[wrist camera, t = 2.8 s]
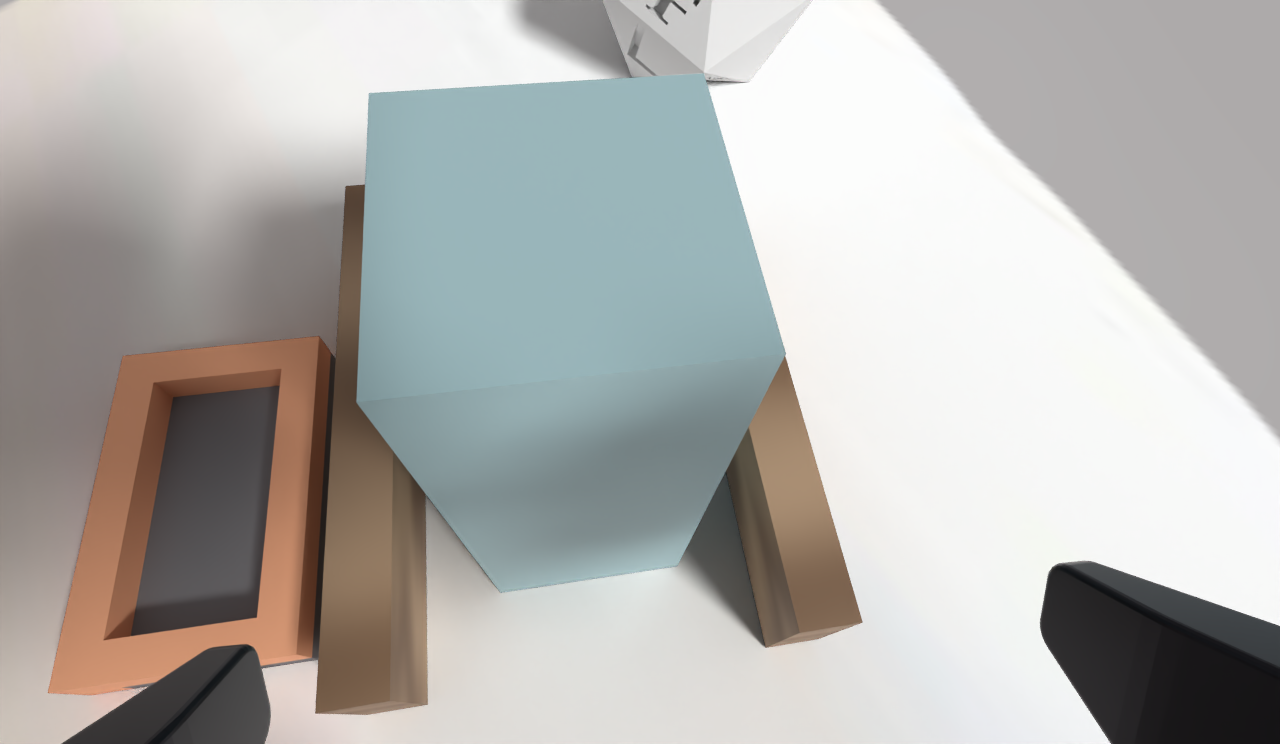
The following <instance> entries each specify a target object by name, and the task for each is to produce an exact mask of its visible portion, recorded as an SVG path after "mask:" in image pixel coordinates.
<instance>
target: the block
mask: <svg viewBox="0 0 1280 744" xmlns="http://www.w3.org/2000/svg"><path fill="white" fill-rule="evenodd" d="M785 355H786V353H785V349H784V346H783V342H782V339H781V336H780V332H779V329H778V325H777V322H776V318H775V315H774V312H773V308H772V305H771V301H770V298H769V294H768V291H767V288H766V284H765V281H764V277H763V274H762V271H761V267H760V264H759V260H758V257H757V253H756V250H755V247H754V243H753V240H752V236H751V233H750V229H749V226H748V223H747V219H746V216H745V212H744V209H743V205H742V202H741V199H740V195H739V192H738V188H737V185H736V182H735V178H734V175H733V171H732V168H731V164H730V161H729V158H728V154H727V151H726V147H725V144H724V140H723V137H722V134H721V130H720V127H719V123H718V120H717V116H716V113H715V110H714V106H713V103H712V99H711V96H710V93H709V89H708V86H707V82H706V79H705V75H704V73H701V74H684V75H667V76H651V77H634V78H617V79H600V80H583V81H566V82H549V83H533V84H516V85H499V86H482V87H465V88H449V89H432V90H415V91H398V92H381V93H369V103H368V128H367V153H366V177H365V202H364V227H363V252H362V277H361V301H360V326H359V351H358V376H357V401H356V403H357V404H358V405H359V407H360V408H361V409H362V411H363V412H364V413H365V414H366V416H367V417H368V418H369V420H370V421H371V422H372V424H373V425H374V426H375V428H376V429H377V430H378V432H379V433H380V434H381V436H382V437H383V438H384V440H385V441H386V442H387V444H388V445H389V446H390V447H391V449H392V450H393V451H394V453H395V454H396V455H397V457H398V458H399V459H400V461H401V462H402V463H403V465H404V466H405V467H406V469H407V470H408V471H409V473H410V474H411V475H412V476H413V478H414V479H415V480H416V482H417V483H418V484H419V486H420V487H421V488H422V490H423V491H424V492H425V494H426V495H427V496H428V498H429V499H430V500H431V502H432V503H433V504H434V506H435V507H436V508H437V509H438V511H439V512H440V513H441V515H442V516H443V517H444V519H445V520H446V521H447V523H448V524H449V525H450V527H451V528H452V529H453V531H454V532H455V533H456V535H457V536H458V537H459V538H460V540H461V541H462V542H463V544H464V545H465V546H466V548H467V549H468V550H469V552H470V553H471V554H472V556H473V557H474V558H475V560H476V561H477V562H478V564H479V565H480V566H481V568H482V569H483V570H484V571H485V573H486V574H487V575H488V577H489V578H490V579H491V581H492V582H493V583H494V585H495V586H496V587H497V589H498V590H499V591H500V593H502V592H509V591H515V590H522V589H529V588H535V587H542V586H549V585H555V584H562V583H569V582H575V581H582V580H589V579H595V578H602V577H609V576H615V575H622V574H629V573H635V572H642V571H649V570H655V569H662V568H669V567H675V566H678V564H679V562H680V560H681V558H682V556H683V554H684V552H685V550H686V548H687V546H688V544H689V542H690V540H691V538H692V536H693V534H694V532H695V530H696V528H697V526H698V525H699V523H700V521H701V519H702V517H703V515H704V513H705V511H706V509H707V507H708V505H709V503H710V501H711V499H712V497H713V495H714V493H715V491H716V489H717V487H718V485H719V483H720V482H721V480H722V478H723V476H724V474H725V472H726V470H727V468H728V466H729V464H730V462H731V460H732V458H733V456H734V454H735V452H736V450H737V448H738V446H739V444H740V442H741V441H742V439H743V437H744V435H745V433H746V431H747V429H748V427H749V425H750V423H751V421H752V419H753V417H754V415H755V413H756V411H757V409H758V407H759V405H760V403H761V401H762V400H763V398H764V396H765V394H766V392H767V390H768V388H769V386H770V384H771V382H772V380H773V378H774V376H775V374H776V372H777V370H778V368H779V366H780V364H781V362H782V360H783V358H784V357H785Z"/></svg>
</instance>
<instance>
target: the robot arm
mask: <svg viewBox="0 0 1280 744" xmlns="http://www.w3.org/2000/svg"><path fill="white" fill-rule="evenodd" d="M1040 628H1041V633H1042V637H1043V639H1044V641H1045V643H1046V645H1047V647H1048V649H1049V650H1050V652H1051V653H1052V655H1053V656H1054V658H1055V659H1056V661H1057V662H1058V664H1059V665H1060V667H1061V668H1062V670H1063V671H1064V673H1065V674H1066V676H1067V677H1068V679H1069V681H1070V682H1071V684H1072V685H1073V687H1074V688H1075V690H1076V691H1077V693H1078V694H1079V696H1080V697H1081V699H1082V700H1083V702H1084V703H1085V705H1086V706H1087V708H1088V709H1089V711H1090V712H1091V714H1092V716H1093V717H1094V719H1095V720H1096V722H1097V723H1098V725H1099V726H1100V728H1101V729H1102V731H1103V732H1104V734H1105V735H1106V737H1107V738H1108V740H1109V741H1110V743H1111V744H1280V626H1278V625H1275V624H1272V623H1270V622H1267V621H1264V620H1261V619H1258V618H1255V617H1252V616H1249V615H1246V614H1243V613H1241V612H1238V611H1235V610H1232V609H1229V608H1226V607H1223V606H1220V605H1217V604H1214V603H1212V602H1209V601H1206V600H1203V599H1200V598H1197V597H1194V596H1191V595H1188V594H1185V593H1182V592H1180V591H1177V590H1174V589H1171V588H1168V587H1165V586H1162V585H1159V584H1156V583H1153V582H1151V581H1148V580H1145V579H1142V578H1139V577H1136V576H1133V575H1130V574H1127V573H1124V572H1121V571H1119V570H1116V569H1113V568H1110V567H1107V566H1104V565H1101V564H1098V563H1095V562H1092V561H1077V562H1067V563H1059V564H1057V565H1055V566H1053V567H1052V569H1051V570H1050V571H1049V574H1048V578H1047V584H1046V590H1045V595H1044V601H1043V607H1042V613H1041V618H1040ZM270 717H271V712H270V703H269V699H268V695H267V690H266V686H265V682H264V678H263V673H262V669H261V665H260V660H259V657H258V654H257V651H256V650H255V648H254V647H252V646H250V645H248V644H239V645H229V646H218V647H212V648H209V649H206V650H205V651H203V652H201V653H200V654H198V655H197V656H195V657H194V658H192V659H191V660H189V661H188V662H186V663H184V664H183V665H181V666H180V667H178V668H177V669H175V670H174V671H172V672H171V673H169V674H168V675H166V676H165V677H163V678H161V679H160V680H158V681H157V682H155V683H154V684H152V685H151V686H149V687H148V688H146V689H145V690H143V691H142V692H140V693H138V694H137V695H135V696H134V697H132V698H131V699H129V700H128V701H126V702H125V703H123V704H122V705H120V706H119V707H117V708H116V709H114V710H112V711H111V712H109V713H108V714H106V715H105V716H103V717H102V718H100V719H99V720H97V721H96V722H94V723H93V724H91V725H89V726H88V727H86V728H85V729H83V730H82V731H80V732H79V733H77V734H76V735H74V736H73V737H71V738H70V739H68V740H66V741H65V742H63V743H62V744H265V741H266V737H267V734H268V731H269V726H270Z"/></svg>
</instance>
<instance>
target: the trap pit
mask: <svg viewBox="0 0 1280 744" xmlns="http://www.w3.org/2000/svg"><path fill="white" fill-rule="evenodd" d="M335 363H336V359H335V357H334V356H333V355H332V353H331V352H330V350H329V349H328V348H327V346H326V345H325V343H324V342H323V341H322V339H321V338H320V337H319V336H314V337H305V338H295V339H285V340H275V341H265V342H255V343H245V344H235V345H225V346H216V347H206V348H196V349H186V350H176V351H166V352H156V353H146V354H136V355H126V356H123V357H122V361H121V366H120V370H119V375H118V379H117V384H116V388H115V393H114V397H113V402H112V406H111V411H110V415H109V420H108V424H107V429H106V433H105V438H104V442H103V447H102V451H101V456H100V460H99V465H98V469H97V474H96V478H95V483H94V487H93V492H92V496H91V501H90V505H89V510H88V514H87V519H86V523H85V528H84V532H83V537H82V541H81V546H80V550H79V555H78V559H77V564H76V568H75V573H74V577H73V582H72V586H71V591H70V595H69V599H68V604H67V608H66V613H65V617H64V622H63V626H62V631H61V635H60V640H59V644H58V649H57V653H56V658H55V662H54V667H53V671H52V676H51V680H50V685H49V689H48V693H57V694H77V695H96V694H102V693H108V692H115V691H121V690H128V689H134V688H140V687H147V686H151V685H152V684H154V683H155V682H157V681H158V680H160V679H161V678H163V677H165V676H166V675H168V674H169V673H171V672H172V671H174V670H175V669H177V668H178V667H180V666H181V665H183V664H184V663H186V662H188V661H189V660H191V659H192V658H194V657H195V656H197V655H198V654H200V653H201V652H203V651H205V650H206V649H209V648H212V647H218V646H229V645H239V644H248V645H250V646H252V647H254V648H255V650H256V651H257V654H258V657H259V660H260V665H261V668H268V667H274V666H280V665H287V664H293V663H299V662H306V661H312V660H318V659H319V642H320V624H321V607H322V589H323V572H324V555H325V537H326V520H327V502H328V485H329V468H330V450H331V433H332V415H333V398H334V381H335Z"/></svg>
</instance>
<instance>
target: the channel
mask: <svg viewBox="0 0 1280 744" xmlns="http://www.w3.org/2000/svg"><path fill="white" fill-rule="evenodd" d="M364 202H365V185H354V186H346V189H345V206H344V224H343V241H342V259H341V276H340V294H339V311H338V328H337V346H336V363H335V381H334V398H333V415H332V433H331V450H330V468H329V485H328V502H327V520H326V537H325V555H324V572H323V589H322V607H321V624H320V642H319V659H318V677H317V694H316V711H315V713H317V714H358V715H368V714H374V713H380V712H386V711H392V710H398V709H404V708H410V707H416V706H422V705H428V698H427V604H426V511H425V492H424V491H423V490H422V488H421V487H420V486H419V484H418V483H417V482H416V480H415V479H414V478H413V476H412V475H411V474H410V473H409V471H408V470H407V469H406V467H405V466H404V465H403V463H402V462H401V461H400V459H399V458H398V457H397V455H396V454H395V453H394V451H393V450H392V449H391V447H390V446H389V445H388V444H387V442H386V441H385V440H384V438H383V437H382V436H381V434H380V433H379V432H378V430H377V429H376V428H375V426H374V425H373V424H372V422H371V421H370V420H369V418H368V417H367V416H366V414H365V413H364V412H363V411H362V409H361V408H360V407H359V405H358V404H357V403H356V401H357V376H358V351H359V326H360V301H361V277H362V252H363V227H364ZM726 474H727V479H728V483H729V487H730V492H731V496H732V501H733V505H734V510H735V514H736V519H737V523H738V527H739V532H740V536H741V541H742V545H743V550H744V554H745V559H746V563H747V568H748V572H749V576H750V581H751V585H752V590H753V594H754V599H755V603H756V608H757V612H758V616H759V621H760V625H761V630H762V634H763V639H764V643H765V648H767V647H773V646H779V645H785V644H791V643H797V642H803V641H809V640H815V639H819V638H822V637H825V636H827V635H830V634H833V633H835V632H838V631H841V630H844V629H846V628H849V627H852V626H854V625H857V624H860V623H862V619H861V615H860V612H859V609H858V605H857V602H856V598H855V595H854V591H853V588H852V584H851V581H850V578H849V574H848V571H847V567H846V564H845V560H844V557H843V553H842V550H841V547H840V543H839V540H838V536H837V533H836V529H835V526H834V523H833V519H832V516H831V512H830V509H829V505H828V502H827V498H826V495H825V492H824V488H823V485H822V481H821V478H820V474H819V471H818V468H817V464H816V461H815V457H814V454H813V450H812V447H811V443H810V440H809V437H808V433H807V430H806V426H805V423H804V419H803V416H802V412H801V409H800V406H799V402H798V399H797V395H796V392H795V388H794V385H793V382H792V378H791V375H790V371H789V368H788V364H787V361H786V357H784V358H783V360H782V362H781V364H780V366H779V368H778V370H777V372H776V374H775V376H774V378H773V380H772V382H771V384H770V386H769V388H768V390H767V392H766V394H765V396H764V398H763V400H762V401H761V403H760V405H759V407H758V409H757V411H756V413H755V415H754V417H753V419H752V421H751V423H750V425H749V427H748V429H747V431H746V433H745V435H744V437H743V439H742V441H741V442H740V444H739V446H738V448H737V450H736V452H735V454H734V456H733V458H732V460H731V462H730V464H729V466H728V468H727V470H726Z"/></svg>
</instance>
